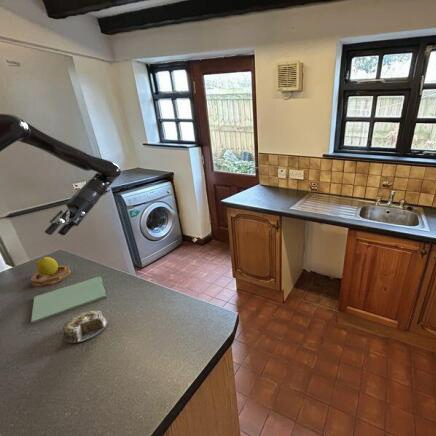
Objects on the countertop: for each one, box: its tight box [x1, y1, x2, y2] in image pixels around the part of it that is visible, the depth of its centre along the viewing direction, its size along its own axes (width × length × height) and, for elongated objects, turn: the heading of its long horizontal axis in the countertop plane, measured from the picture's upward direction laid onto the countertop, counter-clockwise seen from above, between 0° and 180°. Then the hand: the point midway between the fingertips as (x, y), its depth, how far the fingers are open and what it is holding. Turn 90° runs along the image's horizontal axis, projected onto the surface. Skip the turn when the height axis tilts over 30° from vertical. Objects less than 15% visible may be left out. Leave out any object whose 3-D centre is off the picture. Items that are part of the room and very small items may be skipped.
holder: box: [30, 264, 72, 287], centre depth 92 cm, size 11×11×2 cm
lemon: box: [35, 256, 59, 276], centre depth 90 cm, size 6×6×8 cm
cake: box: [62, 310, 108, 344], centre depth 69 cm, size 10×10×5 cm
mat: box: [30, 275, 107, 324], centre depth 82 cm, size 18×14×1 cm
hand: (54, 233), depth 90 cm, fingers open, 8 cm apart
